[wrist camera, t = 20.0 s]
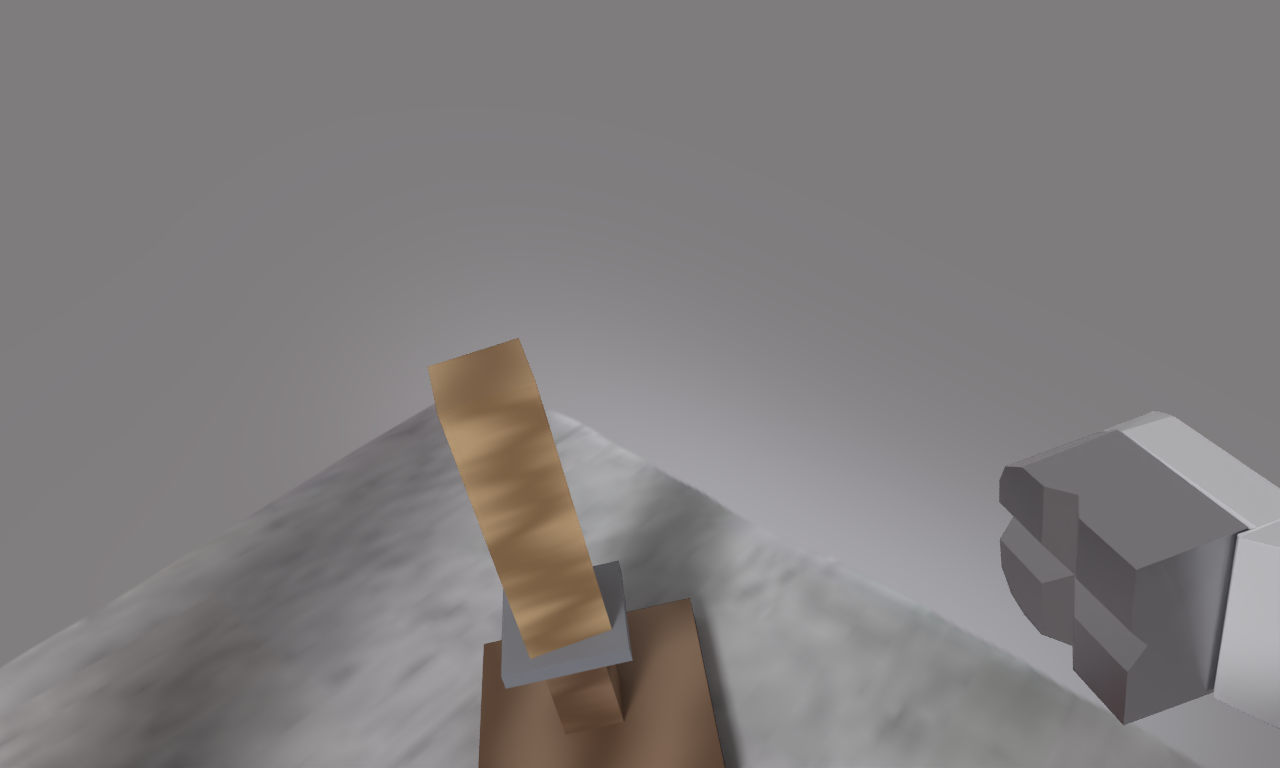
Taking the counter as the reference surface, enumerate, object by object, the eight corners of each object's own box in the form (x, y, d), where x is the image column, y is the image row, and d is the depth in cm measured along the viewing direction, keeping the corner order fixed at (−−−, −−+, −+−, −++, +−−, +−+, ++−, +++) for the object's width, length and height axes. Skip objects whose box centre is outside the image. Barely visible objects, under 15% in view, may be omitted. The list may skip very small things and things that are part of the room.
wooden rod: (530, 659, 46) (437, 413, 38) (515, 602, 49) (428, 366, 42) (611, 629, 46) (535, 381, 39) (592, 575, 50) (518, 337, 42)
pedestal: (484, 852, 47) (432, 745, 43) (491, 662, 57) (449, 560, 53) (731, 798, 47) (703, 684, 42) (694, 616, 57) (668, 510, 53)
